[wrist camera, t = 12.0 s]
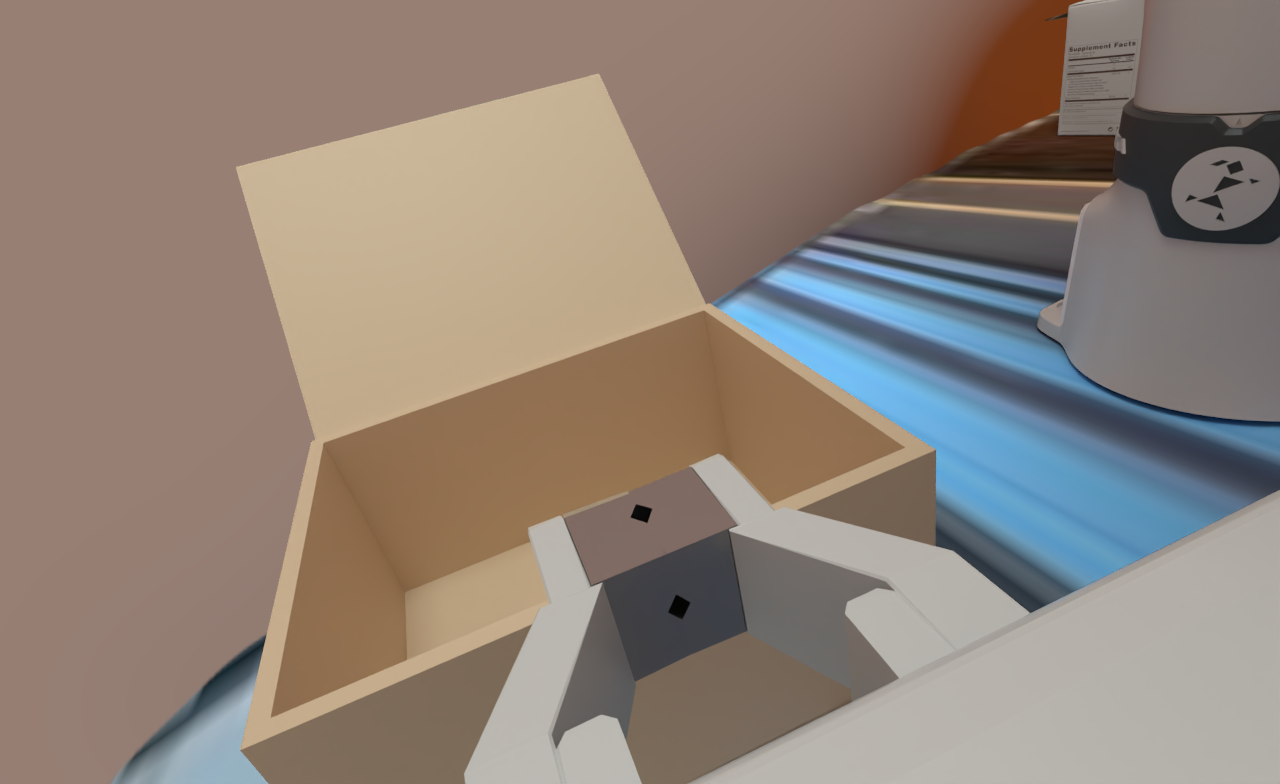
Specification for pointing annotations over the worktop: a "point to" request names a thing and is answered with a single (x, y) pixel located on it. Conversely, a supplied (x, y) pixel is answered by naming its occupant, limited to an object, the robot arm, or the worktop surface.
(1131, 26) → the supplement box
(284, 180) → the carton flap
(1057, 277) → the worktop surface
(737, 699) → the carton
